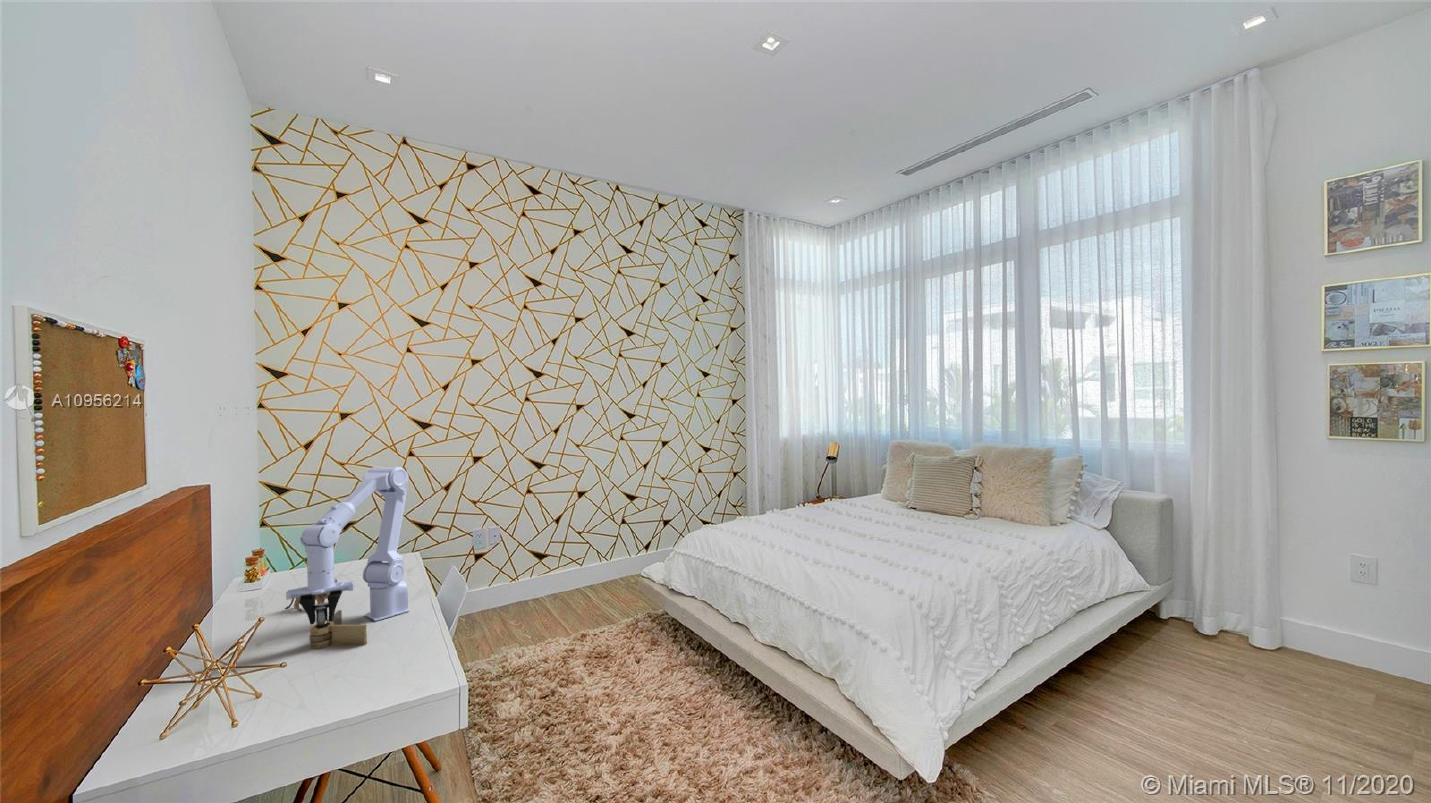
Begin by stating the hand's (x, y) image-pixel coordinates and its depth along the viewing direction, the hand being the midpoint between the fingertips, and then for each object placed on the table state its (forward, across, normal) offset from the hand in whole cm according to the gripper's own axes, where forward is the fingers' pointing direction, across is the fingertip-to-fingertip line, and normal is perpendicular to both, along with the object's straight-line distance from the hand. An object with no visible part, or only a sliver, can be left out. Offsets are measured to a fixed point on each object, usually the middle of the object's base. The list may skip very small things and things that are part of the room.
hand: (322, 621), depth 142 cm
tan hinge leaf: (+6, +4, -2) cm, 8 cm away
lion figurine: (+6, -9, +34) cm, 35 cm away
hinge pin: (+2, 0, 0) cm, 2 cm away
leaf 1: (+6, +1, +5) cm, 7 cm away
